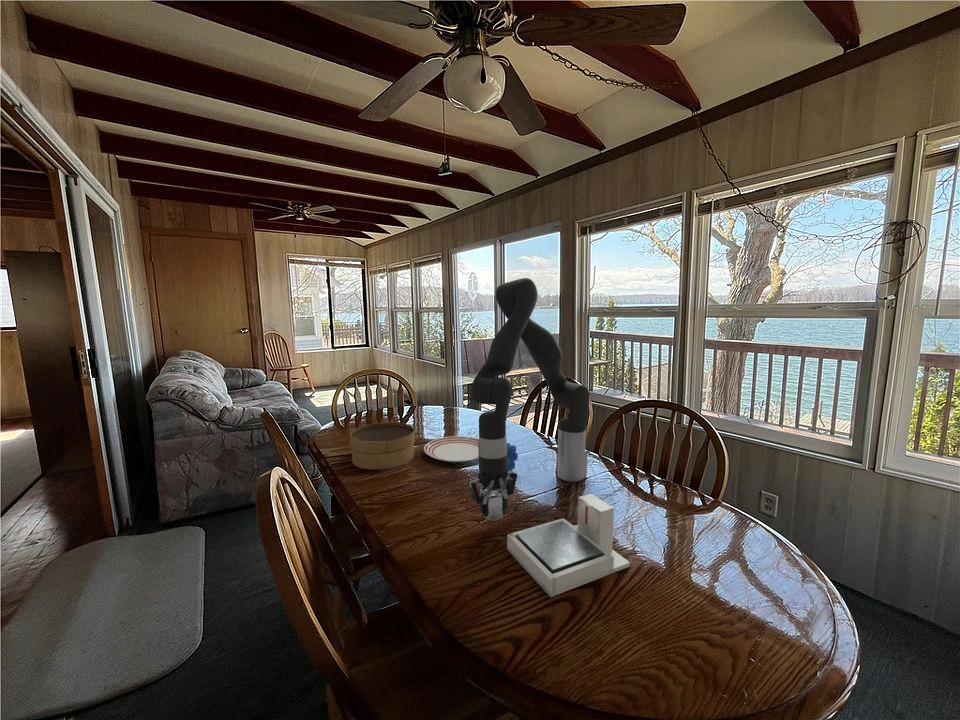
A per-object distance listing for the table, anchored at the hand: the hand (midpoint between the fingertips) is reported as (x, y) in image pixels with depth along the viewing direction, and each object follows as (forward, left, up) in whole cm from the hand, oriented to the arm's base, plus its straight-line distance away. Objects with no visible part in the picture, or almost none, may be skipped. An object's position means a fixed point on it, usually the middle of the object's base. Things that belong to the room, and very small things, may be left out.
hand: (493, 512), depth 106 cm
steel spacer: (0, 0, -1) cm, 1 cm away
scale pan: (-7, +19, -1) cm, 20 cm away
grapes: (-19, -28, -5) cm, 34 cm away
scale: (-10, +19, -5) cm, 22 cm away
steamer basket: (+15, -65, -5) cm, 67 cm away
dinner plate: (-13, -55, -5) cm, 57 cm away
